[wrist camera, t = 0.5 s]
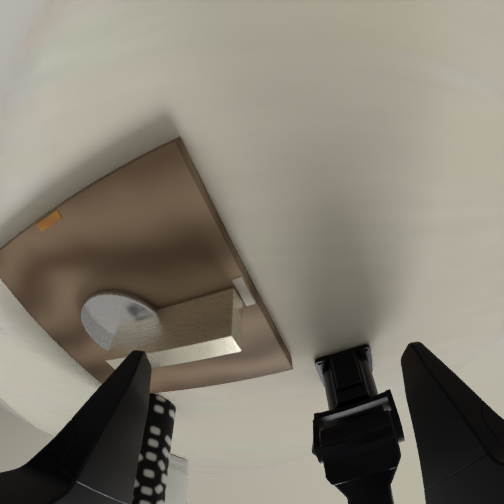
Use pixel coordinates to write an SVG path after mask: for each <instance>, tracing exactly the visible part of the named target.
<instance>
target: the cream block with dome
mask: <svg viewBox="0 0 504 504" xmlns="http://www.w3.org/2000/svg"><path fill="white" fill-rule="evenodd" d="M242 312H243V303H242V301H241V300H240V298H239V296H238V294H237V293H236V291H235V289H234V288H231V289H228V290H224V291H221V292H217V293H214V294H211V295H207V296H204V297H200V298H197V299H193V300H190V301H186V302H183V303H179V304H176V305H172V306H169V307H165V308H161V309H157V308H155V307H154V306H153V305H151V304H150V303H149V302H147V301H145V300H144V299H142V298H140V297H138V296H135V295H133V294H130V293H127V292H122V291H117V290H104V291H99V292H96V293H94V294H92V295H91V296H90V297H89V298H88V299H87V300H86V302H85V304H84V306H83V308H82V311H81V320H82V324H83V326H84V328H85V330H86V332H87V333H88V334H89V336H90V337H91V338H92V339H93V340H94V341H95V342H96V343H97V344H99V345H100V346H101V347H103V348H104V349H106V350H108V351H109V352H108V354H107V357H106V360H105V361H106V362H107V363H108V364H109V365H111V366H112V367H113V368H114V369H116V368H117V367H118V366H119V365H120V364H121V363H122V362H123V360H124V359H125V358H126V357H127V356H128V355H129V354H130V353H131V352H132V351H133V350H140V351H144V352H146V354H147V357H148V359H149V361H150V364H151V367H152V368H156V367H162V366H169V365H174V364H180V363H186V362H191V361H197V360H202V359H207V358H212V357H217V356H222V355H226V354H231V353H236V352H240V351H242Z"/></svg>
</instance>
